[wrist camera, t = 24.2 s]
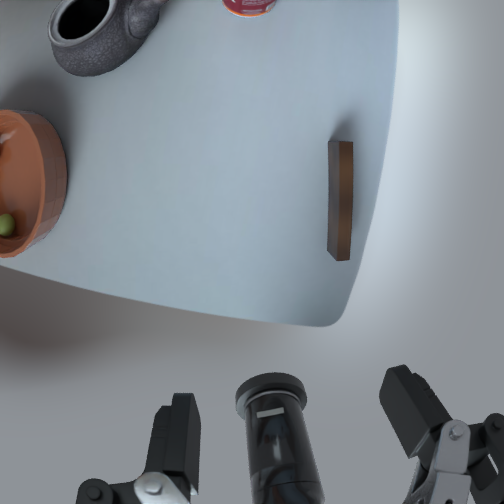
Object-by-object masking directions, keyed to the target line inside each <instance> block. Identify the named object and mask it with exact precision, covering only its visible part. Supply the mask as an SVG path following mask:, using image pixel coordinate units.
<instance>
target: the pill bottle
mask: <svg viewBox="0 0 504 504" xmlns="http://www.w3.org/2000/svg"><path fill="white" fill-rule="evenodd" d="M275 2H276V0H222V3H223V5H224V7H225V8H226V9H227V10H228V11H229V12H231V13H232V14H234V15H236V16H239V17H245V18H253V17H259V16H262V15H264V14H266V13H268V12H269V11H270V10H271V9H272V8H273V6H274V5H275Z"/></svg>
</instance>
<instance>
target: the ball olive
mask: <svg viewBox="0 0 504 504" xmlns="http://www.w3.org/2000/svg"><path fill="white" fill-rule="evenodd" d="M14 228H15V221H14V218H13V217H12V216H11V215H9V214H3V215H1V216H0V234H1V235H2V236H9V235H10V234H12V232H13V231H14Z"/></svg>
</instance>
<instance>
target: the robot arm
mask: <svg viewBox="0 0 504 504" xmlns="http://www.w3.org/2000/svg"><path fill="white" fill-rule="evenodd" d="M379 398H380V403H381V405H382V407H383V409H384V411H385V413H386V415H387V417H388V419H389V421H390V422H391V425H392V427H393V428H394V430H395V432H396V434H397V436H398V438H399V440H400V442H401V444H402V446H403V448H404V450H405V453H406V455H407V456H408V458H409V459H410V458H412V457H415V456H418V457H419V461H418V462H417V466H416V469H415V472H414V476H413V479H412V482H411V485H410V489H409V492H408V494H407V497H406V499H405V500H404V502H403V503H402V504H467V500H468V495H469V490H470V492H471V494H472V496H473V498H474V501H475V503H476V504H504V416H503V415H501V414H499V413H493V414H490V415H489V416H488V417H487V418H486V420H485V421H484V422H483V423H478V424H473V425H467V424H466V423H464V422H463V421H460V420H453V419H452V418H451V417H450V415H449V413H448V412H447V410H446V409H445V408H444V406H443V405H442V403H441V402H440V400H439V399H438V397H437V396H436V395H435V393H434V392H433V390H432V389H430V386H429V385H428V383H427V382H426V380H425V379H424V378H422V377H420V376H419V375H418V374H417V373H413V374H412V373H411V371H410V370H409V368H408V367H407V366H406V365H399V366H396V367H392V368H389V369H388V370H387V371H386V374H385V377H384V380H383V384H382V386H381V389H380V393H379ZM244 415H245V423H246V436H247V449H248V460H249V471H250V481H251V492H252V503H253V504H324V502H325V497H324V493H323V489H322V485H321V481H320V477H319V473H318V469H317V466H316V462H315V459H314V455H313V451H312V447H311V444H310V440H309V436H308V432H307V429H306V425H305V421H304V417H303V413H302V409H301V403H300V399H299V397H298V395H297V394H296V393H294V392H293V391H291V390H288V389H283V388H271V389H265V390H262V391H259V392H257V393H255V394H253V395H252V396H250V397H249V398H248V399H247V400H246V402H245V404H244ZM200 435H201V422H200V415H199V412H198V408H197V405H196V401H195V397H194V394H193V393H174V395H173V399H172V405H171V406H161V408H160V409H159V411H158V412H157V413H156V415H155V419H154V423H153V428H152V433H151V438H150V444H149V449H148V455H147V460H146V466H145V470H144V472H143V473H142V475H141V476H139V477H138V478H137V479H135V480H134V481H131V482H126V483H118V484H110V485H108V484H107V483H106V482H105V481H103V480H100V479H88V480H86V481H84V482H83V483H82V484H81V485H80V487H79V489H78V495H77V500H76V504H191V503H190V496H191V495H198V483H199V456H200ZM489 453H490V455H491V457H492V459H493V461H494V462H495V464H496V466H497V468H498V475H497V473H496V471H495V469H494V467H493V465H492V463H491V461H490V459H489V457H488V454H489Z"/></svg>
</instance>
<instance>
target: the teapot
mask: <svg viewBox="0 0 504 504" xmlns="http://www.w3.org/2000/svg"><path fill="white" fill-rule="evenodd" d="M167 1H168V0H62V1H61V2H60V3H59V4H58V5H57V7H56V8H55V10H54V11H53V13H52V15H51V17H50V20H49V23H48V37H49V39H50V41H51V45H52V50H53V54H54V56H55V59H56V61H57V62H58V64H59V65H60V66H61V67H62V68H63V69H64V70H66V71H67V72H69V73H71V74H73V75H76V76H83V77H84V76H97V75H101V74H104V73H106V72H109V71H112V70H114V69H115V68H117V67H119V66H120V65H122V64H123V63H124V62H126V61H127V60H128V59H129V58H131V57H132V56H133V55H134V54H135V53H136V51H137V50H138V49H139V48H140V47H141V45H142V43H143V42H144V40H145V39H146V37H147V35H148V33H149V32H150V31H151V30H152V29H153V28H154V27H155V26H156V24H157V22H158V20H159V9H160V7H161V6H162V5H163V4H165V3H166V2H167Z"/></svg>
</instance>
